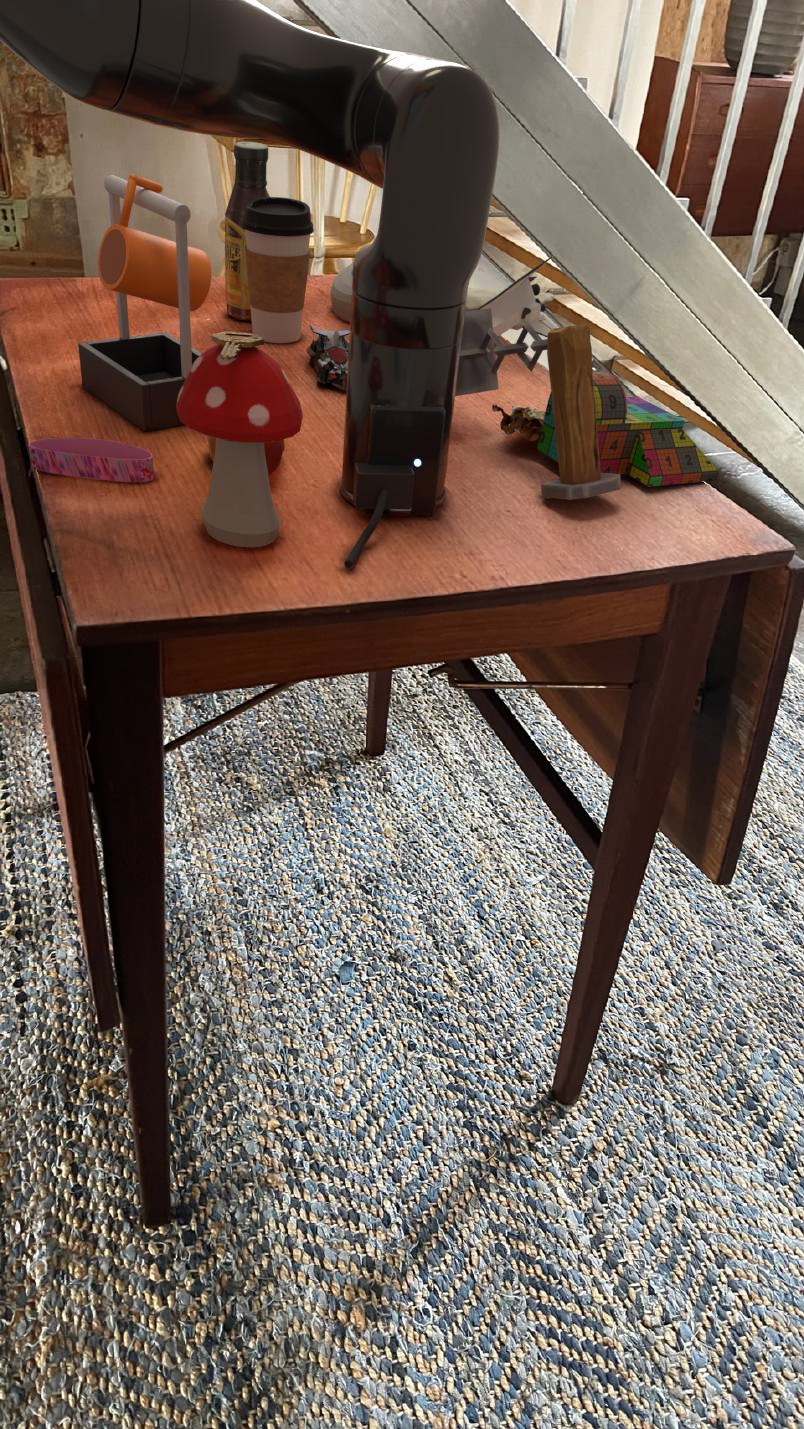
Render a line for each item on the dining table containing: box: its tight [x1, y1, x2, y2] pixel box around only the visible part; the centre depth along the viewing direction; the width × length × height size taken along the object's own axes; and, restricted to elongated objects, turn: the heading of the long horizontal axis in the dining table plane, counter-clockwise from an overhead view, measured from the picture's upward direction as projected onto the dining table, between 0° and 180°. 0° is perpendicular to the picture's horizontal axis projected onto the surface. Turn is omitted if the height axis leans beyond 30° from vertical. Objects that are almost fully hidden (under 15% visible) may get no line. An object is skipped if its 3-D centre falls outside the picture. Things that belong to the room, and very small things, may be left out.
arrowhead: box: [465, 287, 555, 311], centre depth 143 cm, size 12×4×25 cm
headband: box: [28, 437, 155, 483], centre depth 90 cm, size 11×4×2 cm, turn 85°
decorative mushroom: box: [176, 344, 304, 548], centre depth 78 cm, size 10×9×15 cm
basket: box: [77, 174, 203, 432], centre depth 100 cm, size 14×10×20 cm
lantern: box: [455, 308, 622, 501], centre depth 100 cm, size 8×17×30 cm
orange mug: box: [97, 173, 212, 312], centre depth 97 cm, size 10×6×9 cm
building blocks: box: [536, 371, 720, 487], centre depth 98 cm, size 15×10×8 cm
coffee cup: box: [242, 196, 315, 344], centre depth 122 cm, size 8×8×15 cm
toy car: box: [306, 323, 350, 391], centre depth 115 cm, size 6×12×4 cm, turn 11°
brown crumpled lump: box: [491, 403, 546, 442], centre depth 104 cm, size 7×12×6 cm, turn 156°
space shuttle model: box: [477, 254, 558, 339], centre depth 128 cm, size 16×25×10 cm
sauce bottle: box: [224, 141, 271, 322], centre depth 127 cm, size 7×6×20 cm
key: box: [210, 330, 265, 360], centre depth 72 cm, size 4×8×1 cm, turn 2°
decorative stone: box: [330, 261, 354, 323], centre depth 136 cm, size 18×18×5 cm
